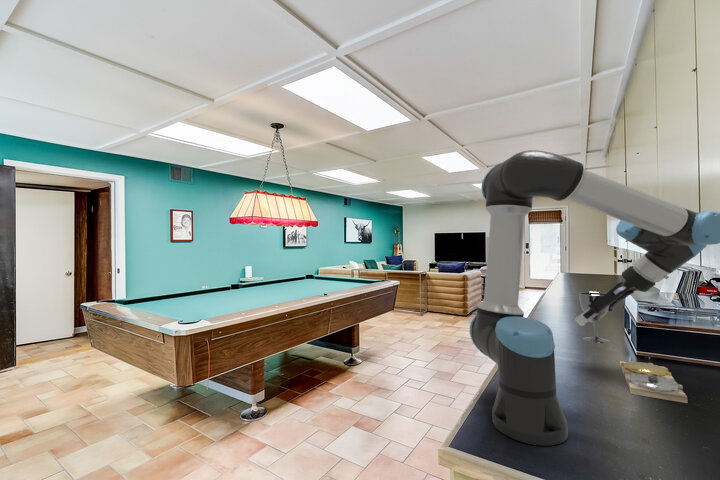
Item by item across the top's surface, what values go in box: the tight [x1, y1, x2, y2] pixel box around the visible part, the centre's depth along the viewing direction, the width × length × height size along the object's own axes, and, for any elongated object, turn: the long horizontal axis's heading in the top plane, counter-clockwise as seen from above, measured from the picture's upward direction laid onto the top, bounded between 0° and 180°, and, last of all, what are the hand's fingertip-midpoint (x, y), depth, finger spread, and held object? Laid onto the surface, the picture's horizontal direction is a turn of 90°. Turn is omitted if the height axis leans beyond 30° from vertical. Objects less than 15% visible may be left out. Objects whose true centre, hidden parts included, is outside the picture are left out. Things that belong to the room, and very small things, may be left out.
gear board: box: [619, 360, 689, 404], centre depth 94 cm, size 24×12×4 cm, turn 147°
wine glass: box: [578, 291, 611, 344], centre depth 104 cm, size 8×8×15 cm
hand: (583, 321), depth 106 cm, fingers closed on wine glass, 7 cm apart
